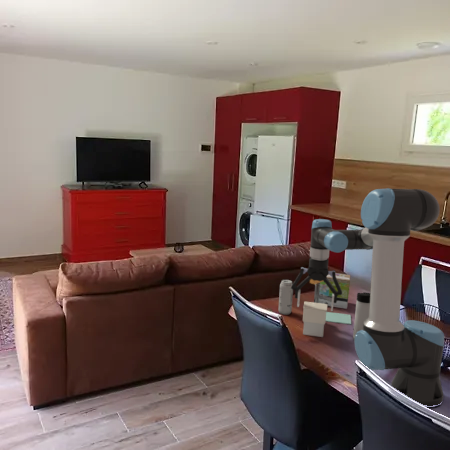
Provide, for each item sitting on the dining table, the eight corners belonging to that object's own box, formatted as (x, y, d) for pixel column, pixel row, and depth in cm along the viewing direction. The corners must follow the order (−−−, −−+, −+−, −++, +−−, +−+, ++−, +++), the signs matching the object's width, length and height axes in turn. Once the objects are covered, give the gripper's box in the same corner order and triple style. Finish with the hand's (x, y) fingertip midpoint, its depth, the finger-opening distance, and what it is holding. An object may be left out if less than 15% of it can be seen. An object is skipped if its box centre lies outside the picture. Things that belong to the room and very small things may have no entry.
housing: (322, 337, 182) (324, 322, 181) (303, 334, 184) (304, 320, 183) (324, 322, 197) (325, 309, 196) (305, 320, 199) (306, 306, 198)
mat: (351, 324, 196) (351, 323, 196) (325, 321, 199) (325, 320, 198) (350, 315, 206) (350, 314, 206) (326, 312, 209) (326, 311, 209)
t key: (338, 312, 192) (341, 277, 189) (327, 318, 186) (330, 281, 183) (318, 306, 199) (321, 272, 196) (307, 311, 192) (310, 276, 189)
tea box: (315, 305, 219) (317, 275, 216) (317, 298, 228) (319, 270, 226) (347, 309, 215) (350, 279, 212) (348, 302, 224) (350, 274, 221)
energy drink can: (290, 315, 203) (292, 284, 201) (277, 313, 205) (278, 282, 203) (292, 311, 209) (294, 280, 206) (279, 309, 211) (281, 278, 208)
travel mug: (358, 344, 176) (363, 295, 173) (349, 337, 183) (354, 290, 179) (372, 343, 178) (377, 295, 174) (363, 336, 184) (368, 289, 181)
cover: (325, 324, 180) (326, 310, 178) (302, 321, 182) (303, 307, 181) (326, 317, 187) (327, 304, 186) (303, 314, 189) (304, 301, 188)
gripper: (351, 258, 180) (346, 308, 184) (288, 252, 186) (285, 301, 190) (351, 263, 173) (346, 315, 177) (286, 256, 179) (283, 307, 183)
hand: (314, 308), depth 184 cm, fingers open, 13 cm apart
